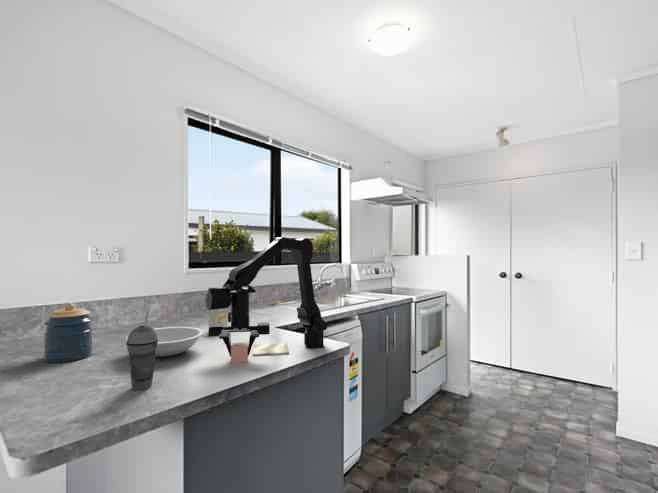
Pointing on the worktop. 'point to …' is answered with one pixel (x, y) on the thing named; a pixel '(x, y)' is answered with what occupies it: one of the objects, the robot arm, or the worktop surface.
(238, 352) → the coral cube
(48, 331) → the canister
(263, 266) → the robot arm
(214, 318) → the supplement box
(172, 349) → the soup bowl
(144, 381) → the beverage cup
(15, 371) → the worktop surface
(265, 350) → the birch board
